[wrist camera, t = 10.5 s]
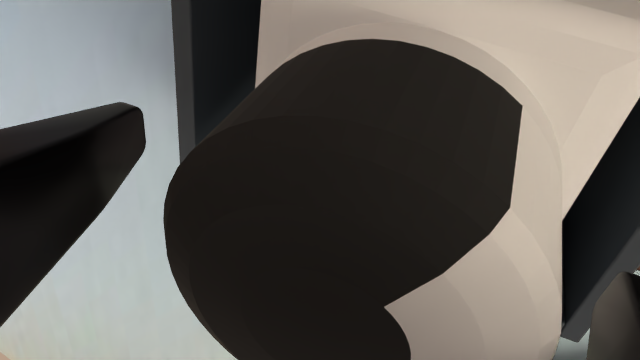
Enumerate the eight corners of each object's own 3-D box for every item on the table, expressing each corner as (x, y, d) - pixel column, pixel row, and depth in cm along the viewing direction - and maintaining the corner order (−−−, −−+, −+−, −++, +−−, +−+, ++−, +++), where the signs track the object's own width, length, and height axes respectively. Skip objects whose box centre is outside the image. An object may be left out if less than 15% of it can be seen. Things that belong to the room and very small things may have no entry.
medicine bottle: (331, 95, 19) (126, 367, 10) (370, -124, 14) (60, 17, 6) (524, 157, 18) (486, 533, 9) (634, -62, 13) (792, 256, 4)
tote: (818, -166, 11) (967, -140, 7) (574, 223, 19) (578, 344, 15) (276, -259, 14) (154, -279, 10) (254, 118, 22) (181, 197, 18)
